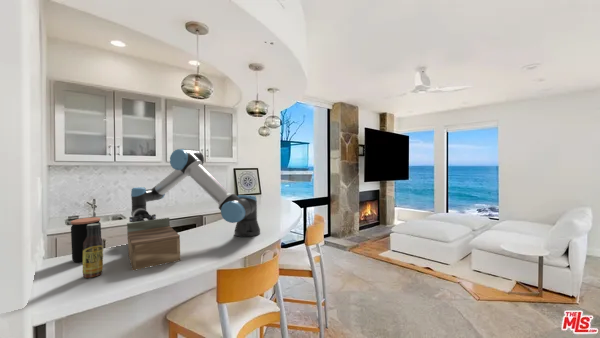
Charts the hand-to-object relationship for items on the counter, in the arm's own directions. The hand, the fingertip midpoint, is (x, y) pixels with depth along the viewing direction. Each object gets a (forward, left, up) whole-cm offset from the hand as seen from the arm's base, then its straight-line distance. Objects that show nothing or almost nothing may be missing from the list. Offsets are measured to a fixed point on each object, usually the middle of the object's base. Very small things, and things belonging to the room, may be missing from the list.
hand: (146, 223), depth 136 cm
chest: (-15, +8, -13) cm, 22 cm away
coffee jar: (+13, +20, -13) cm, 27 cm away
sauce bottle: (-10, +30, -13) cm, 35 cm away
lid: (-14, +8, -6) cm, 17 cm away
